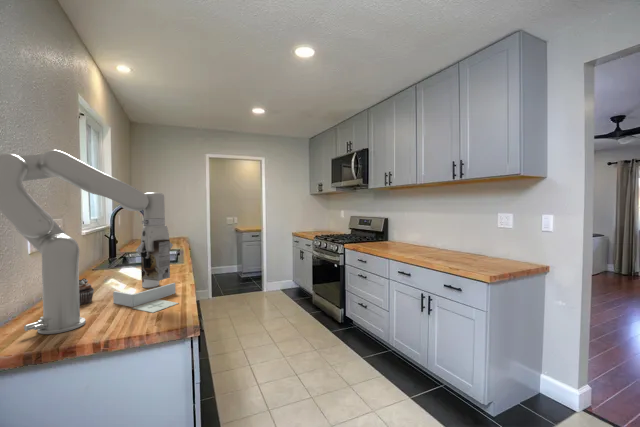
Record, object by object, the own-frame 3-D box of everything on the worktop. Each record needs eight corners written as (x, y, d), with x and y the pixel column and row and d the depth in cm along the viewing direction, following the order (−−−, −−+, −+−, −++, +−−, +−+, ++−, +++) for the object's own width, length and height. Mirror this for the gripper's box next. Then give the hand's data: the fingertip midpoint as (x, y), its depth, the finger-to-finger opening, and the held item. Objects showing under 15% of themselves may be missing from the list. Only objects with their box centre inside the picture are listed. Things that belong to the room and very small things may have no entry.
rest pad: (152, 313, 118) (152, 311, 118) (132, 308, 123) (132, 307, 123) (178, 303, 129) (178, 302, 129) (158, 300, 134) (158, 299, 134)
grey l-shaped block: (132, 307, 125) (132, 295, 125) (113, 303, 130) (113, 291, 130) (175, 293, 144) (175, 282, 144) (157, 290, 149) (157, 280, 149)
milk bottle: (162, 284, 160) (161, 246, 159) (153, 288, 152) (152, 248, 152) (148, 284, 161) (148, 246, 160) (138, 288, 153) (137, 248, 152)
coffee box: (140, 279, 124) (139, 240, 123) (153, 275, 130) (152, 238, 130) (158, 281, 121) (157, 240, 121) (170, 277, 127) (170, 238, 127)
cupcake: (65, 307, 124) (65, 283, 124) (65, 301, 132) (65, 278, 131) (95, 303, 130) (94, 279, 130) (93, 297, 138) (93, 275, 137)
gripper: (140, 224, 115) (141, 271, 116) (178, 221, 131) (179, 262, 132) (127, 224, 119) (129, 269, 119) (166, 221, 134) (167, 261, 135)
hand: (155, 265), depth 126 cm, fingers closed on coffee box, 6 cm apart
